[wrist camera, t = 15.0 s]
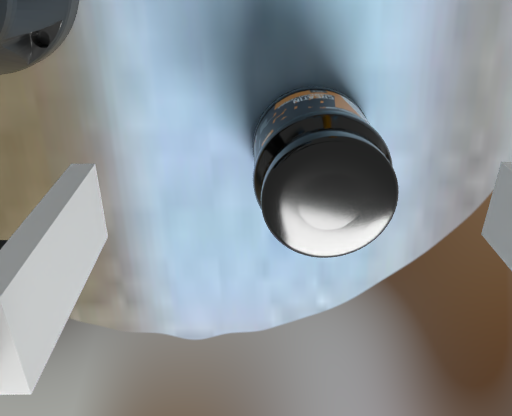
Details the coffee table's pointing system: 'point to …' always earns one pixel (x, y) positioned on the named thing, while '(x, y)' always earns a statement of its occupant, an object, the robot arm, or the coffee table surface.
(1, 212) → the coffee table surface
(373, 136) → the supplement container
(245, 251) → the coffee table surface
